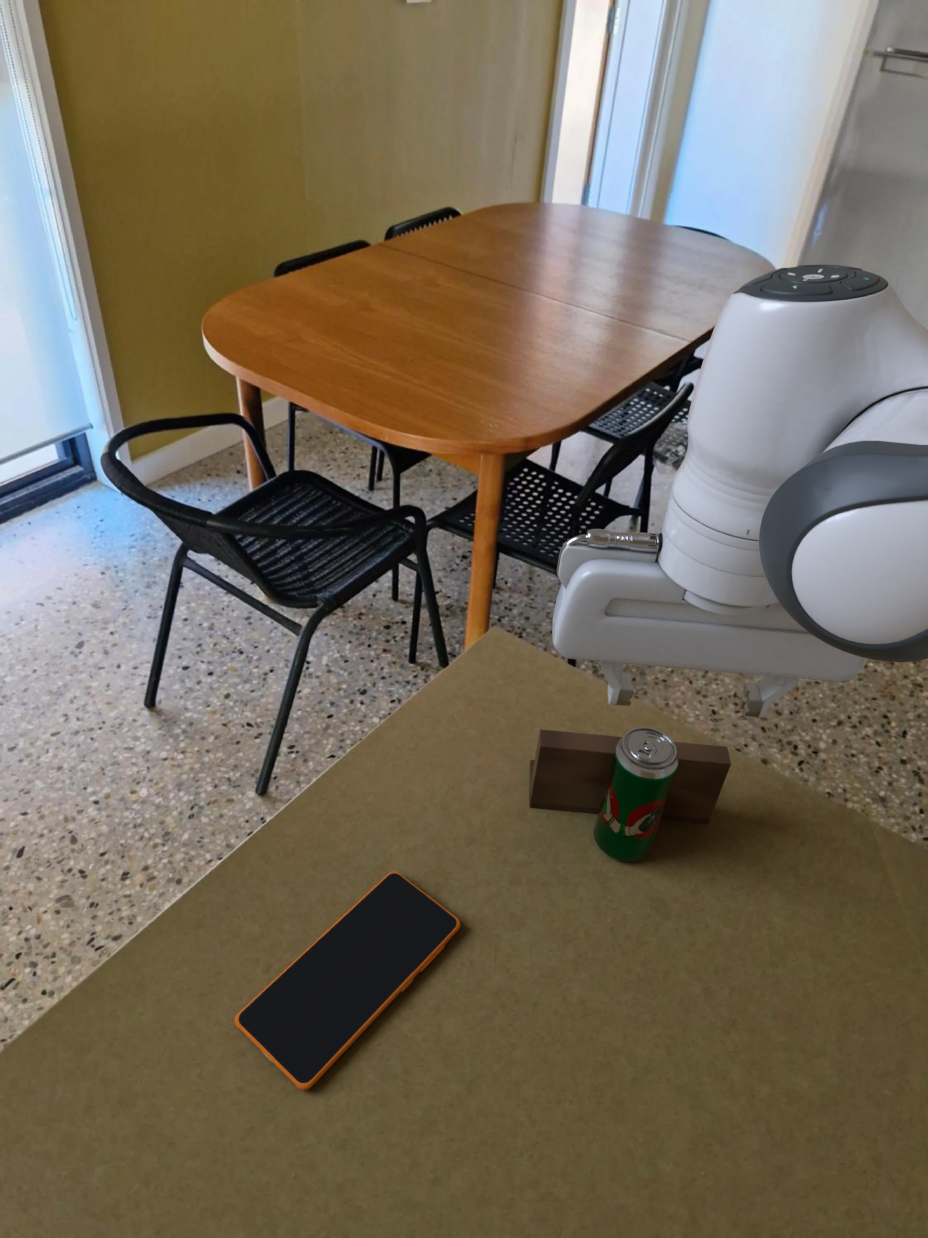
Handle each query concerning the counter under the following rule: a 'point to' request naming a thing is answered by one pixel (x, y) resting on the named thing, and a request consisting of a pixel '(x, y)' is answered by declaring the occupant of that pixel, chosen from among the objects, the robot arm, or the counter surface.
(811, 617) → the robot arm
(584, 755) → the brown rectangular block
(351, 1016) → the smartphone
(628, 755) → the soda can
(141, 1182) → the counter surface
